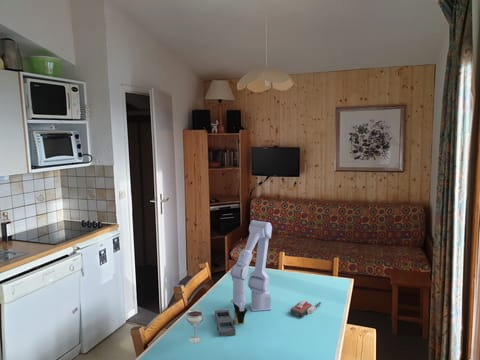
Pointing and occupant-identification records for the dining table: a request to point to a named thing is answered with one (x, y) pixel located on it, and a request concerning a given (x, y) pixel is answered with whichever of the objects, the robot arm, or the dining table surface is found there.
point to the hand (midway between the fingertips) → (239, 318)
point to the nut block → (236, 318)
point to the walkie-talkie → (303, 309)
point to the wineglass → (194, 322)
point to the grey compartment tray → (224, 323)
